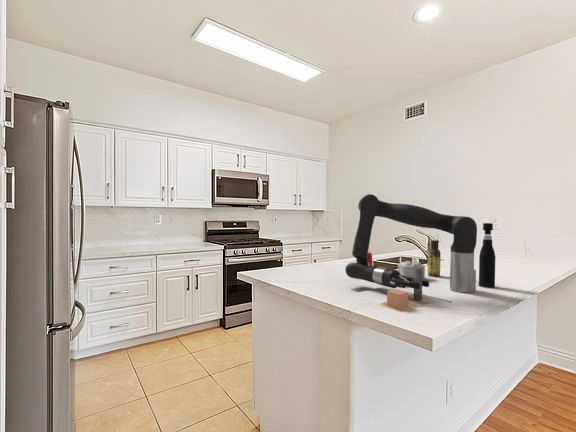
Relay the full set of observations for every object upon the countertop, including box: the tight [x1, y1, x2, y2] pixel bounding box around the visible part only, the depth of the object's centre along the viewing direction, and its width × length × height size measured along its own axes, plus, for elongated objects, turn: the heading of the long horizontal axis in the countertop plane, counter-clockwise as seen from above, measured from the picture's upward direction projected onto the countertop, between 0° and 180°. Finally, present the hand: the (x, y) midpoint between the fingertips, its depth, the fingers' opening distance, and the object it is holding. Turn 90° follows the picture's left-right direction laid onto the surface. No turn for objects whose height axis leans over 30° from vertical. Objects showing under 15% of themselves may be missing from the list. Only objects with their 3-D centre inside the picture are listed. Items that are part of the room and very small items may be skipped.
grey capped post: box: [377, 268, 433, 313], centre depth 112 cm, size 20×10×13 cm, turn 126°
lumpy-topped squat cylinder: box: [397, 260, 426, 280], centre depth 161 cm, size 10×13×9 cm
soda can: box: [367, 251, 373, 266], centre depth 174 cm, size 7×7×12 cm
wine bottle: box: [478, 222, 496, 289], centre depth 145 cm, size 6×6×30 cm
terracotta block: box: [386, 288, 409, 309], centre depth 109 cm, size 5×5×5 cm
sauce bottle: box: [427, 239, 442, 278], centre depth 167 cm, size 6×6×20 cm
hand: (423, 285), depth 115 cm, fingers open, 5 cm apart
